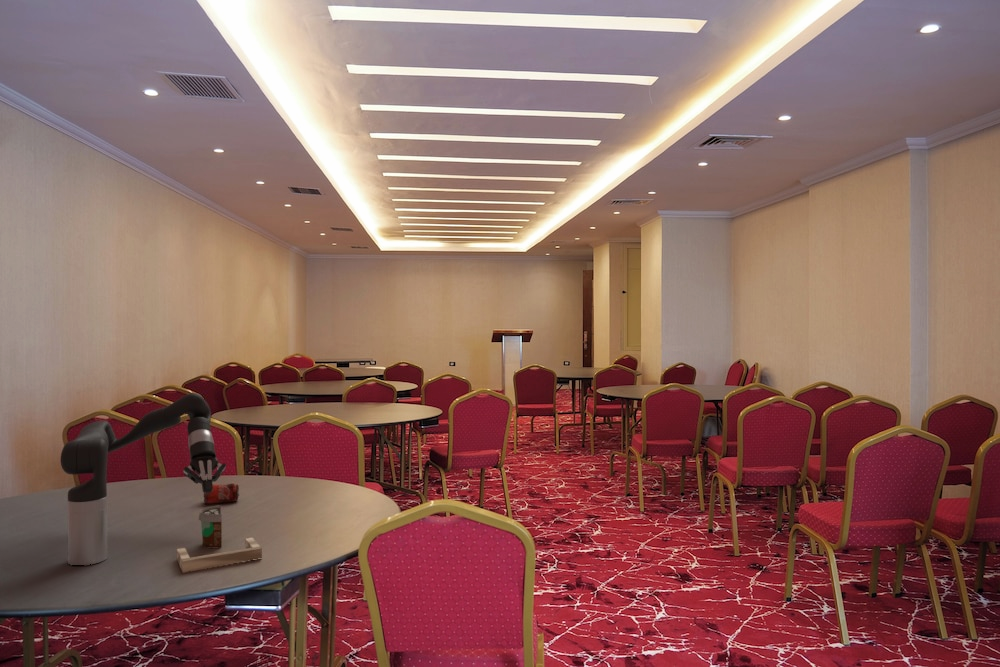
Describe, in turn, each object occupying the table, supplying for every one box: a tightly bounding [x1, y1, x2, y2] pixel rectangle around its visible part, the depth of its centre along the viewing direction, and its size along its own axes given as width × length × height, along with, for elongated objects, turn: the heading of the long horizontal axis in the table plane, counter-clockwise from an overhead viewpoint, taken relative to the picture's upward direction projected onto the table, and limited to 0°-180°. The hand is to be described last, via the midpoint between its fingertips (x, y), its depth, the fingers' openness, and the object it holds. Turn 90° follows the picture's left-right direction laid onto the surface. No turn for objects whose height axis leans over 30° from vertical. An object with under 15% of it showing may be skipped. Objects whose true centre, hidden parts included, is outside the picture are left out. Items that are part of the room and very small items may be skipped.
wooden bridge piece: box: [176, 537, 263, 574], centre depth 190 cm, size 12×20×3 cm, turn 122°
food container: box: [198, 504, 223, 548], centre depth 204 cm, size 12×6×10 cm, turn 23°
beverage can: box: [203, 483, 240, 505], centre depth 254 cm, size 7×12×7 cm, turn 107°
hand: (208, 492), depth 213 cm, fingers closed
